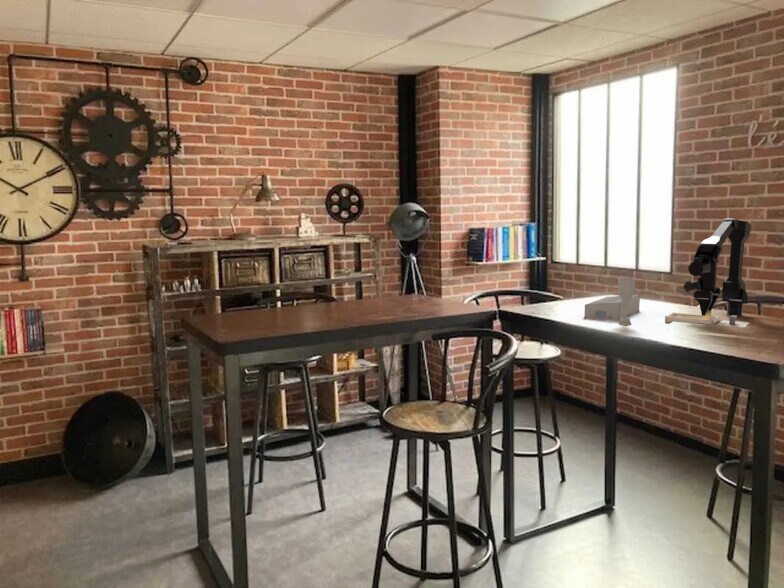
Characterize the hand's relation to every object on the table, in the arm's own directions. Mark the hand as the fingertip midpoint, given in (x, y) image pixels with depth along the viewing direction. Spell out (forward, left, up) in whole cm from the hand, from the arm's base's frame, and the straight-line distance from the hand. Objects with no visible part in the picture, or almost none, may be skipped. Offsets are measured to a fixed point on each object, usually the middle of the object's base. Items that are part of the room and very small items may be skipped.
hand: (706, 314), depth 256 cm
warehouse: (-4, -38, -4) cm, 38 cm away
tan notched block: (0, -5, -3) cm, 6 cm away
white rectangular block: (0, +10, -4) cm, 11 cm away
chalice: (+18, -26, -4) cm, 32 cm away
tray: (0, -5, -4) cm, 6 cm away
